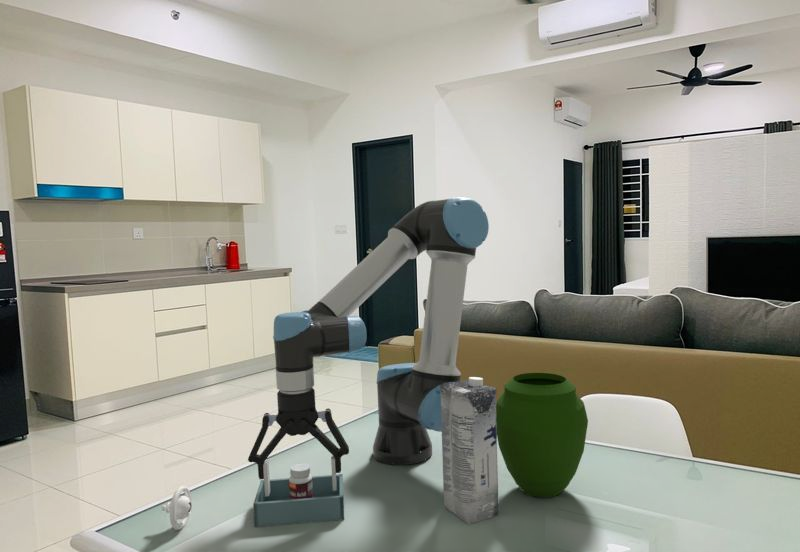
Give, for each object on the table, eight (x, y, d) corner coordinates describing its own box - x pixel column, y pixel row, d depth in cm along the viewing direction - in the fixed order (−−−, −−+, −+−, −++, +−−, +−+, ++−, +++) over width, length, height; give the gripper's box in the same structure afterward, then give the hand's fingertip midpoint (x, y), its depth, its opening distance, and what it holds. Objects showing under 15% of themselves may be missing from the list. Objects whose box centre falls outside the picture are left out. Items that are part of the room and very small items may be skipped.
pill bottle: (286, 511, 119) (284, 471, 119) (295, 500, 124) (293, 462, 123) (308, 512, 118) (306, 472, 118) (316, 502, 123) (315, 463, 122)
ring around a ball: (182, 537, 111) (179, 496, 111) (153, 537, 112) (150, 496, 111) (199, 517, 119) (197, 479, 119) (172, 517, 120) (169, 479, 119)
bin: (343, 494, 128) (342, 474, 127) (344, 519, 116) (343, 497, 116) (261, 501, 126) (260, 480, 125) (254, 527, 114) (253, 504, 114)
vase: (594, 479, 131) (593, 371, 129) (582, 518, 113) (580, 394, 112) (508, 467, 139) (506, 366, 138) (484, 502, 122) (481, 386, 120)
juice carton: (467, 529, 111) (463, 388, 109) (438, 507, 120) (434, 376, 118) (505, 517, 115) (502, 381, 113) (474, 497, 124) (471, 371, 122)
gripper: (356, 380, 124) (361, 478, 126) (236, 388, 122) (242, 488, 123) (358, 389, 117) (362, 493, 118) (229, 398, 114) (236, 504, 116)
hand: (301, 490), depth 121 cm, fingers open, 13 cm apart
